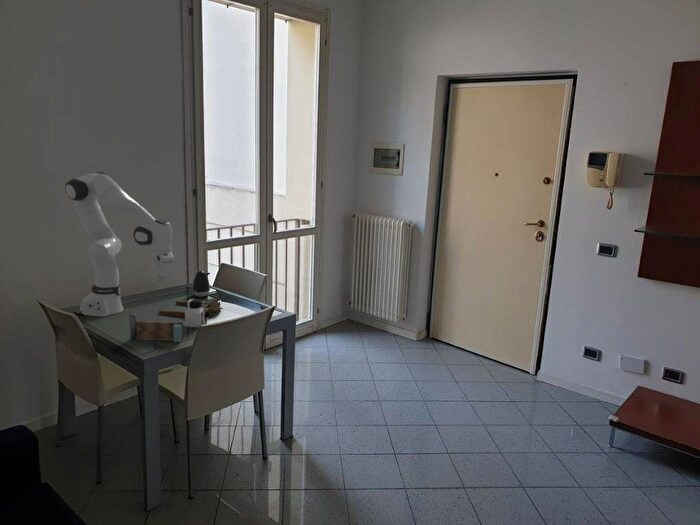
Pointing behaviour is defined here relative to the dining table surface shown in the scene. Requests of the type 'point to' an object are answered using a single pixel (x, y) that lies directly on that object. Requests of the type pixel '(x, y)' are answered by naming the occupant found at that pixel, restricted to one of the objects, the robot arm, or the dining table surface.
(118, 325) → the dining table surface
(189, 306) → the container
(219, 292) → the dining table surface
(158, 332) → the gate
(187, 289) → the dining table surface
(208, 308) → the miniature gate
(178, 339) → the latch post
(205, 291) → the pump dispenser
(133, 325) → the hinge post
